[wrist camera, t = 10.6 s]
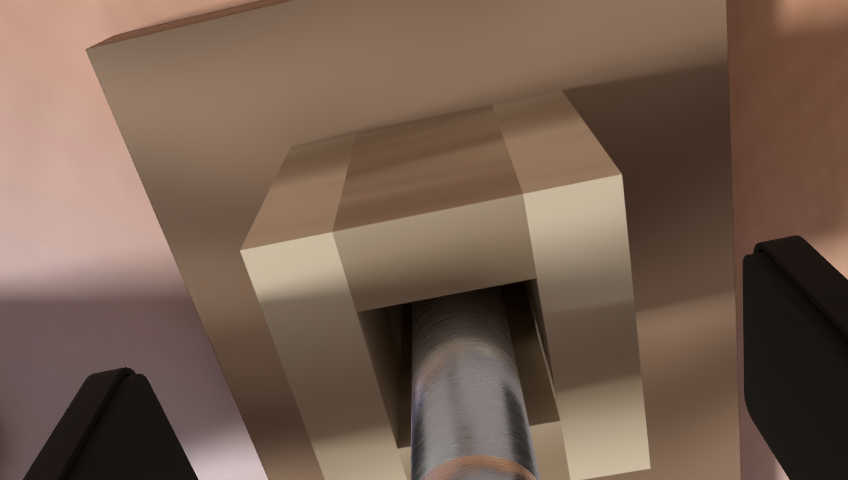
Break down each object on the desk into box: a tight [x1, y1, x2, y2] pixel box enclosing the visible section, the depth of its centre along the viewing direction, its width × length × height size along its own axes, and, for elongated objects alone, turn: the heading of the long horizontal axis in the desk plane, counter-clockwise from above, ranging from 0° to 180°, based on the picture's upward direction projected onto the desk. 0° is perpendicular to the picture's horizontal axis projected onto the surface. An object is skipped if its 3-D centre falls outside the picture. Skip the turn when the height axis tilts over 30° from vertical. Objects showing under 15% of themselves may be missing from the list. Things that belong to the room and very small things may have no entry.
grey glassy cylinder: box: [411, 285, 541, 480], centre depth 13 cm, size 2×2×9 cm
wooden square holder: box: [240, 90, 651, 480], centre depth 14 cm, size 6×6×5 cm
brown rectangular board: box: [85, 0, 741, 480], centre depth 20 cm, size 22×13×2 cm, turn 12°
